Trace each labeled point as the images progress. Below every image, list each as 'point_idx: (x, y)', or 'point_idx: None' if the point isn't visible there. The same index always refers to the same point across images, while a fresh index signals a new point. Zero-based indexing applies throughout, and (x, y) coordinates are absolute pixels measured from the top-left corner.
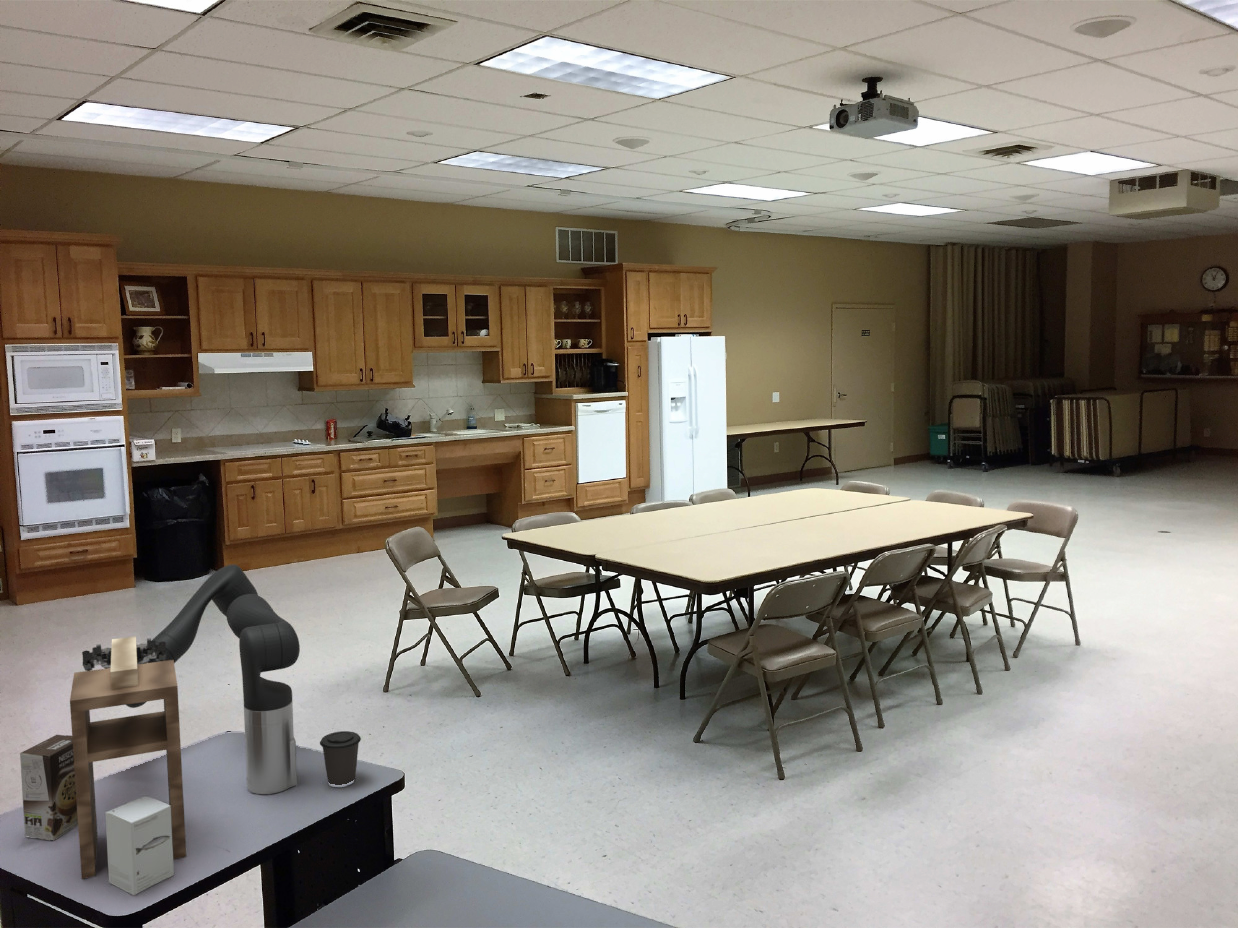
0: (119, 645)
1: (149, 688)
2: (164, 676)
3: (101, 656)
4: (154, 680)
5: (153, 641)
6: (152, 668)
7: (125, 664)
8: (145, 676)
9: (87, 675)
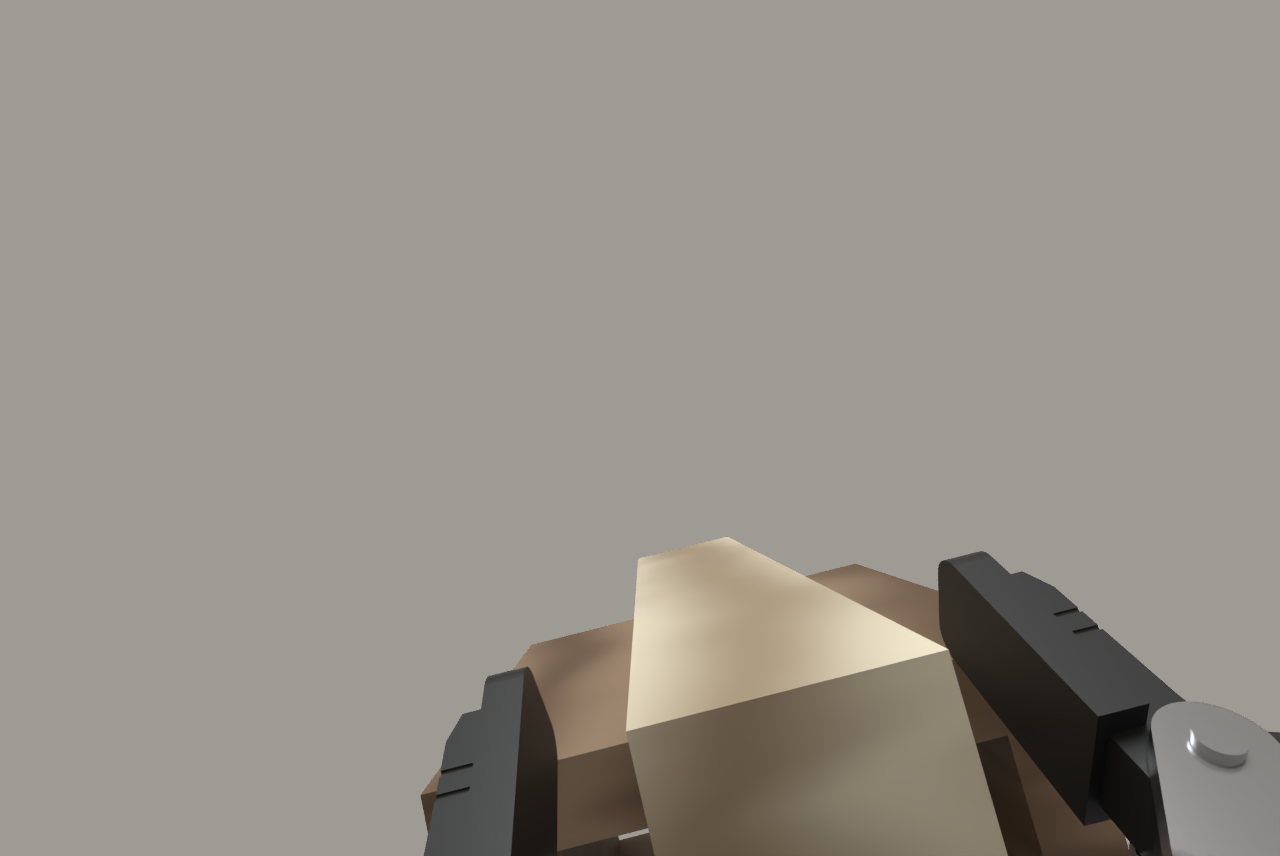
0: (769, 607)
1: (618, 625)
2: (550, 671)
3: (1012, 720)
4: (594, 652)
5: (472, 722)
6: (581, 707)
7: (681, 556)
8: (624, 662)
9: (928, 630)
